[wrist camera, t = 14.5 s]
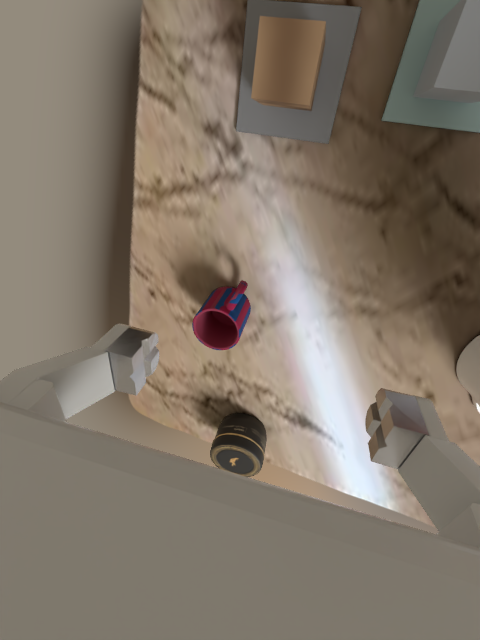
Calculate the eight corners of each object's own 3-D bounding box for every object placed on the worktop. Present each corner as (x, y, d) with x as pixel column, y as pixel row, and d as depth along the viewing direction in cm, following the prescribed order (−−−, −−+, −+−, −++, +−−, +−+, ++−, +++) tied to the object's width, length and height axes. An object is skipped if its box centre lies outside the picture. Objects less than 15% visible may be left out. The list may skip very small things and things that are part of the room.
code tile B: (545, -5, 22) (550, -8, 22) (479, 132, 27) (482, 132, 27) (423, -13, 24) (425, -16, 23) (381, 120, 28) (382, 120, 28)
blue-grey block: (505, 26, 23) (555, -5, 18) (470, 103, 26) (505, 94, 21) (439, 21, 24) (470, -10, 19) (412, 96, 27) (433, 87, 22)
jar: (224, 440, 62) (213, 473, 56) (217, 407, 57) (204, 440, 51) (270, 446, 60) (263, 482, 53) (266, 413, 55) (259, 448, 48)
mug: (201, 307, 45) (184, 330, 40) (235, 260, 40) (221, 280, 34) (234, 331, 46) (222, 358, 41) (273, 289, 41) (265, 313, 35)
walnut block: (325, 43, 26) (325, 21, 21) (311, 111, 29) (309, 105, 24) (271, 38, 27) (259, 16, 22) (262, 105, 30) (251, 98, 25)
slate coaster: (360, 9, 25) (361, 7, 24) (328, 143, 30) (328, 143, 30) (249, 1, 26) (247, -2, 26) (237, 131, 32) (236, 131, 31)
